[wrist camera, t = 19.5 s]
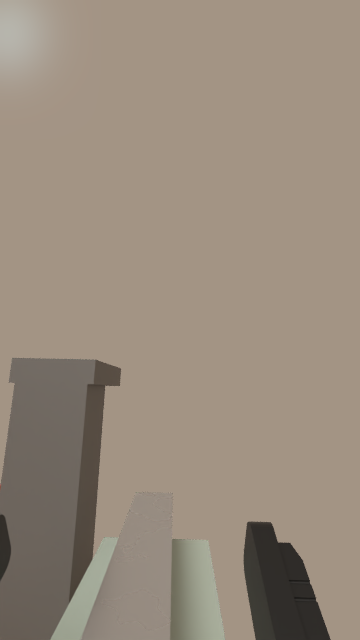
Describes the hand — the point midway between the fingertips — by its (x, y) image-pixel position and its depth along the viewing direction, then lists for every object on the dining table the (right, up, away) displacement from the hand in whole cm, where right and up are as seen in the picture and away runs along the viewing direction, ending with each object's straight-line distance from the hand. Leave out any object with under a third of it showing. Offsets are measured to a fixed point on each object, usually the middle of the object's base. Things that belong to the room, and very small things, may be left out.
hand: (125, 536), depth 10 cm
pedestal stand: (-9, -29, +14) cm, 33 cm away
